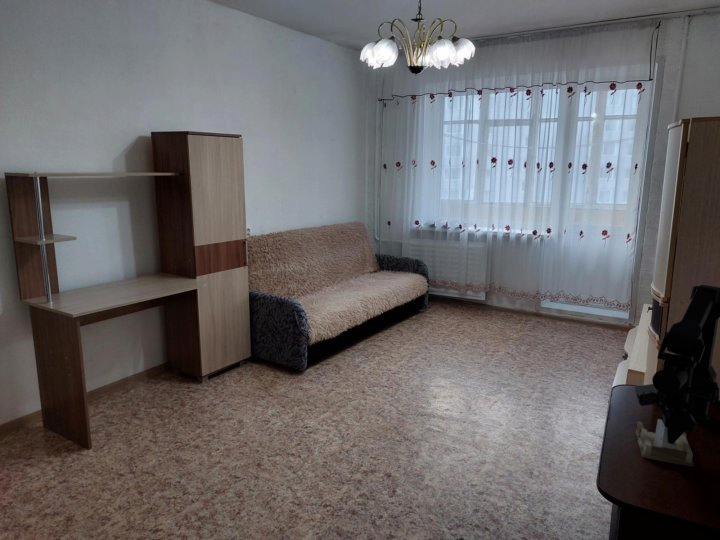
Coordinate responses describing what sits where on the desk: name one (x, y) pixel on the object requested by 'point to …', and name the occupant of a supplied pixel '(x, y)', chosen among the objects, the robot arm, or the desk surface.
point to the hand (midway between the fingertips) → (667, 436)
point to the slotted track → (661, 453)
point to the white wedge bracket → (663, 437)
